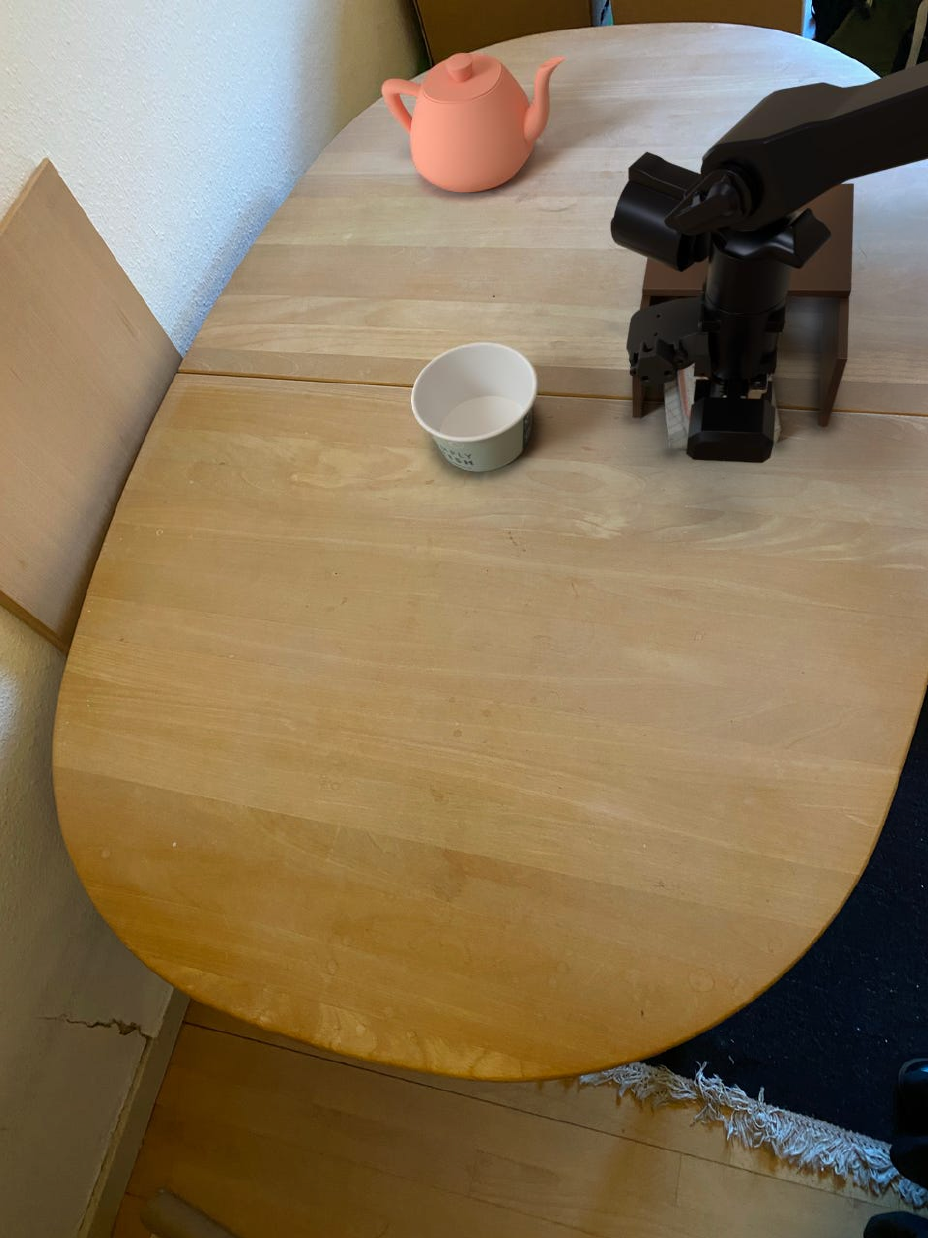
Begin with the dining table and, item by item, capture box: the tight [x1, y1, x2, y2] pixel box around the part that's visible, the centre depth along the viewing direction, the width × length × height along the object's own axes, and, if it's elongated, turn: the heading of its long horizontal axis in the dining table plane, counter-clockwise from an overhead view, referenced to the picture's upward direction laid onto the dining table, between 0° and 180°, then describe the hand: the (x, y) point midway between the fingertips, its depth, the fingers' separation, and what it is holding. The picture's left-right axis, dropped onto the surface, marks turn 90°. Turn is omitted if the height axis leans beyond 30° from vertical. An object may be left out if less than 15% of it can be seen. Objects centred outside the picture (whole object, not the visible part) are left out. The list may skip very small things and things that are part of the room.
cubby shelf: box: [631, 182, 855, 427], centre depth 79 cm, size 18×21×9 cm
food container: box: [410, 341, 539, 473], centre depth 80 cm, size 12×12×6 cm
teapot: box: [381, 52, 565, 193], centre depth 98 cm, size 22×15×12 cm
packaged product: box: [662, 296, 782, 452], centre depth 79 cm, size 18×5×10 cm
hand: (726, 430), depth 74 cm, fingers closed
